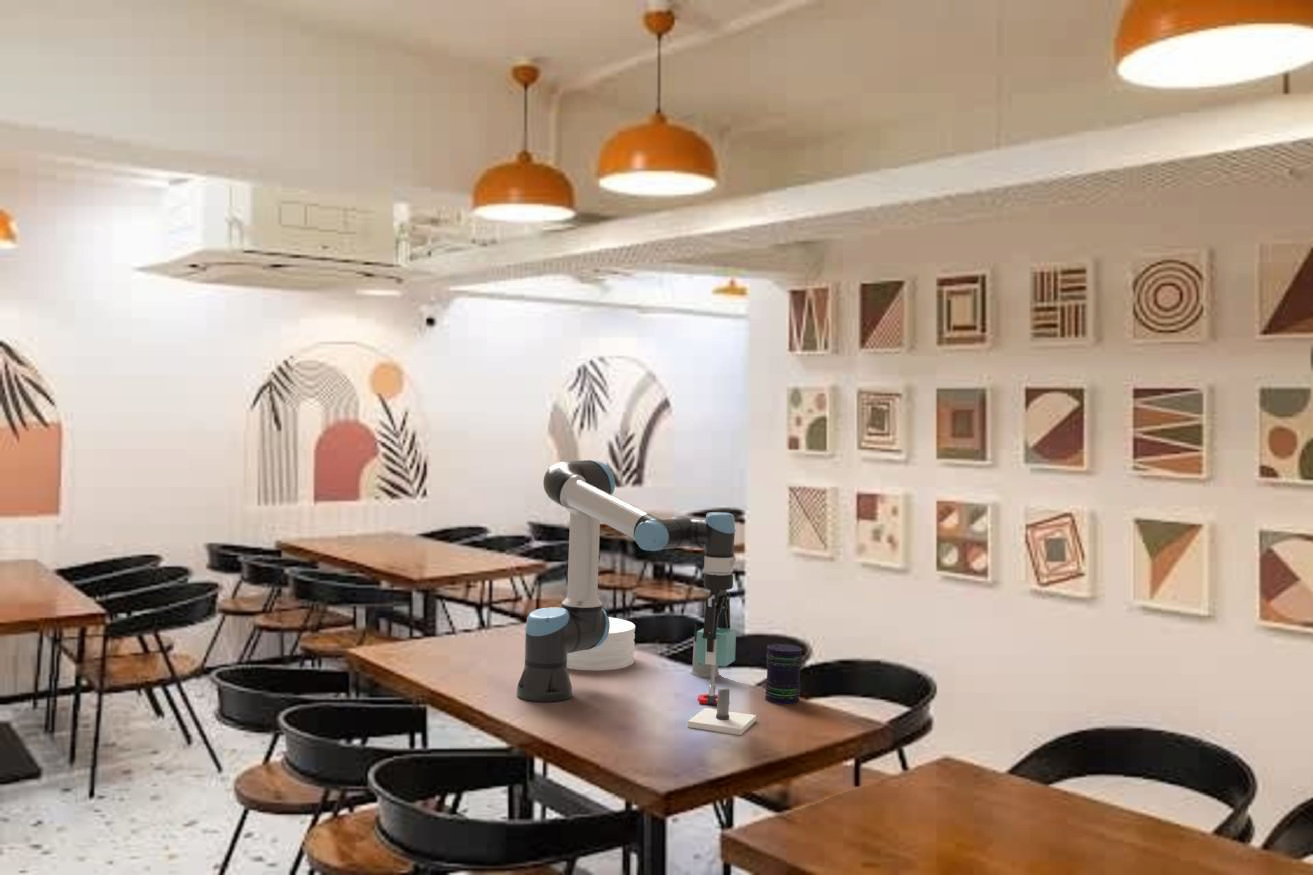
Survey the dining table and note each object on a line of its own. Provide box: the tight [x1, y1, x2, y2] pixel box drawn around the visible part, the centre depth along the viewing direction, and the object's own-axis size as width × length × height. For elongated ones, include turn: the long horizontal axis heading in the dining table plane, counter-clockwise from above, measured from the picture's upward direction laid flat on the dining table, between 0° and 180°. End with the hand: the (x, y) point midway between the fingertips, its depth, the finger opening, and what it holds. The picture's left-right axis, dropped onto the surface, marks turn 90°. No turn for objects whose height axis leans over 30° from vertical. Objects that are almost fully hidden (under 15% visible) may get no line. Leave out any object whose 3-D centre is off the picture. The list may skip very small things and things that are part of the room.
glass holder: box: [690, 622, 720, 678], centre depth 328 cm, size 9×14×15 cm, turn 174°
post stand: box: [687, 687, 757, 736], centre depth 278 cm, size 14×14×9 cm
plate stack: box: [567, 616, 636, 671], centre depth 342 cm, size 28×28×12 cm
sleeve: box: [696, 628, 737, 667], centre depth 278 cm, size 8×8×8 cm
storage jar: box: [764, 643, 803, 706], centre depth 304 cm, size 10×10×15 cm
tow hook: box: [697, 665, 718, 706], centre depth 300 cm, size 8×13×9 cm
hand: (716, 660), depth 278 cm, fingers closed on sleeve, 8 cm apart
